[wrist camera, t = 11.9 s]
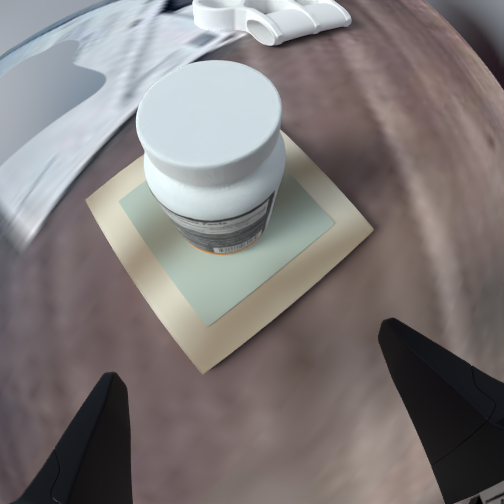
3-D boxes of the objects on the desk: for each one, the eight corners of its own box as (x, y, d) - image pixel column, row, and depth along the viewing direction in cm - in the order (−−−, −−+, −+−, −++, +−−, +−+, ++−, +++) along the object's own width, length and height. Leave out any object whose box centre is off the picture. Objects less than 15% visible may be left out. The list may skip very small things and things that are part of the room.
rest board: (368, 233, 19) (374, 229, 18) (204, 371, 17) (202, 374, 15) (241, 102, 21) (241, 93, 20) (91, 205, 19) (84, 199, 18)
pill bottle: (196, 163, 18) (167, 44, 9) (280, 186, 18) (314, 69, 9) (163, 242, 17) (88, 159, 7) (254, 271, 17) (272, 207, 7)
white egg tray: (246, 64, 23) (175, 14, 25) (363, 28, 26) (286, -15, 28) (247, 37, 20) (172, -7, 22) (370, 9, 23) (288, -32, 25)
